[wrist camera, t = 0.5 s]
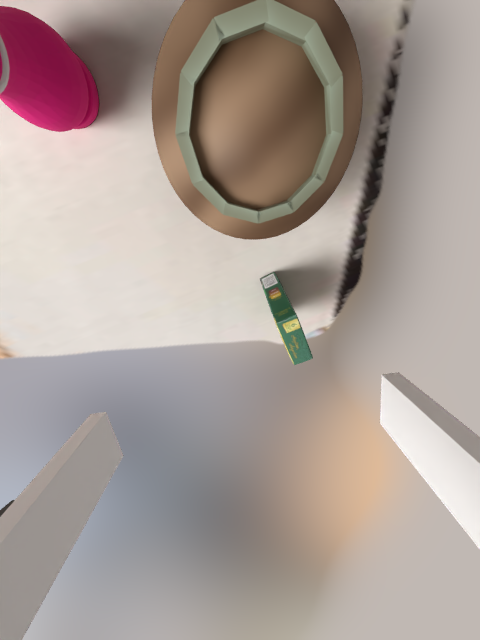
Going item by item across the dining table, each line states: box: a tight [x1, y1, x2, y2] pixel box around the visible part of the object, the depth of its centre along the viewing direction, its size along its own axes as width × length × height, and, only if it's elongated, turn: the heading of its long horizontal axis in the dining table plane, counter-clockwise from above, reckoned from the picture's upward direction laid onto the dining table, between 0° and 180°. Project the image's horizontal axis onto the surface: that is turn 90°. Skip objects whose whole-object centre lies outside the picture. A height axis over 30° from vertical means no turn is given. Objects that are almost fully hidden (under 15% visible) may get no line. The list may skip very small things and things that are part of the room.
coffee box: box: [260, 272, 313, 365], centre depth 34 cm, size 8×3×13 cm, turn 24°
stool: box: [152, 0, 362, 239], centre depth 23 cm, size 17×17×11 cm
